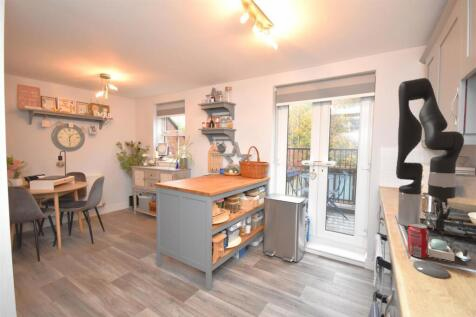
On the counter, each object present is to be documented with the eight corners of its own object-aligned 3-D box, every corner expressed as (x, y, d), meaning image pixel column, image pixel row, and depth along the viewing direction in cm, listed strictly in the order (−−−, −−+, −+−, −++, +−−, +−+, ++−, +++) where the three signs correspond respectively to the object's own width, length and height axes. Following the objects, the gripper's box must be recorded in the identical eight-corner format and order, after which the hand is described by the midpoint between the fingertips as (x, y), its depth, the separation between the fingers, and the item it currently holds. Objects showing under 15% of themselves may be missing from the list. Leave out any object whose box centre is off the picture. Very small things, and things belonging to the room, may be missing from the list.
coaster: (411, 260, 79) (411, 258, 79) (444, 267, 75) (444, 265, 74) (415, 272, 72) (415, 270, 72) (452, 281, 67) (452, 279, 67)
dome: (429, 247, 85) (430, 238, 85) (444, 250, 83) (445, 240, 83) (432, 252, 81) (433, 242, 81) (448, 255, 79) (448, 245, 79)
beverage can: (422, 252, 85) (423, 223, 84) (431, 260, 79) (433, 229, 78) (403, 250, 86) (405, 221, 86) (411, 258, 80) (413, 227, 80)
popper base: (424, 249, 87) (425, 242, 87) (448, 253, 83) (448, 246, 83) (428, 257, 81) (429, 249, 81) (454, 262, 77) (454, 254, 77)
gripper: (424, 181, 88) (423, 221, 89) (432, 186, 77) (430, 232, 78) (449, 182, 84) (447, 225, 85) (461, 188, 73) (459, 237, 74)
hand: (439, 228), depth 82 cm, fingers closed
